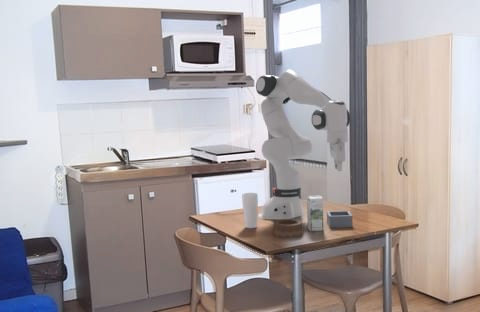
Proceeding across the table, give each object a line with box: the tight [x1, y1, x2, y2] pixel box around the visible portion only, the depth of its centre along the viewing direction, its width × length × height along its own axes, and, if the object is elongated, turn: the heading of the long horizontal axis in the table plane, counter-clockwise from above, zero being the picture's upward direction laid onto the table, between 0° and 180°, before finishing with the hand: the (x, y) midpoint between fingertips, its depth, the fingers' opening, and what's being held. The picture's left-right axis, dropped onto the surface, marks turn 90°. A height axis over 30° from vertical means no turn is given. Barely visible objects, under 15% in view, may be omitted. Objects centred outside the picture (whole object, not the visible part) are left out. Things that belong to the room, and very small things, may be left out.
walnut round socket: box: [273, 218, 304, 239], centre depth 211 cm, size 12×12×5 cm
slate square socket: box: [326, 210, 354, 229], centre depth 223 cm, size 10×10×5 cm
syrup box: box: [306, 195, 324, 233], centre depth 215 cm, size 6×6×14 cm
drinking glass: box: [241, 192, 259, 229], centre depth 225 cm, size 7×7×15 cm
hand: (338, 169), depth 221 cm, fingers open, 6 cm apart
